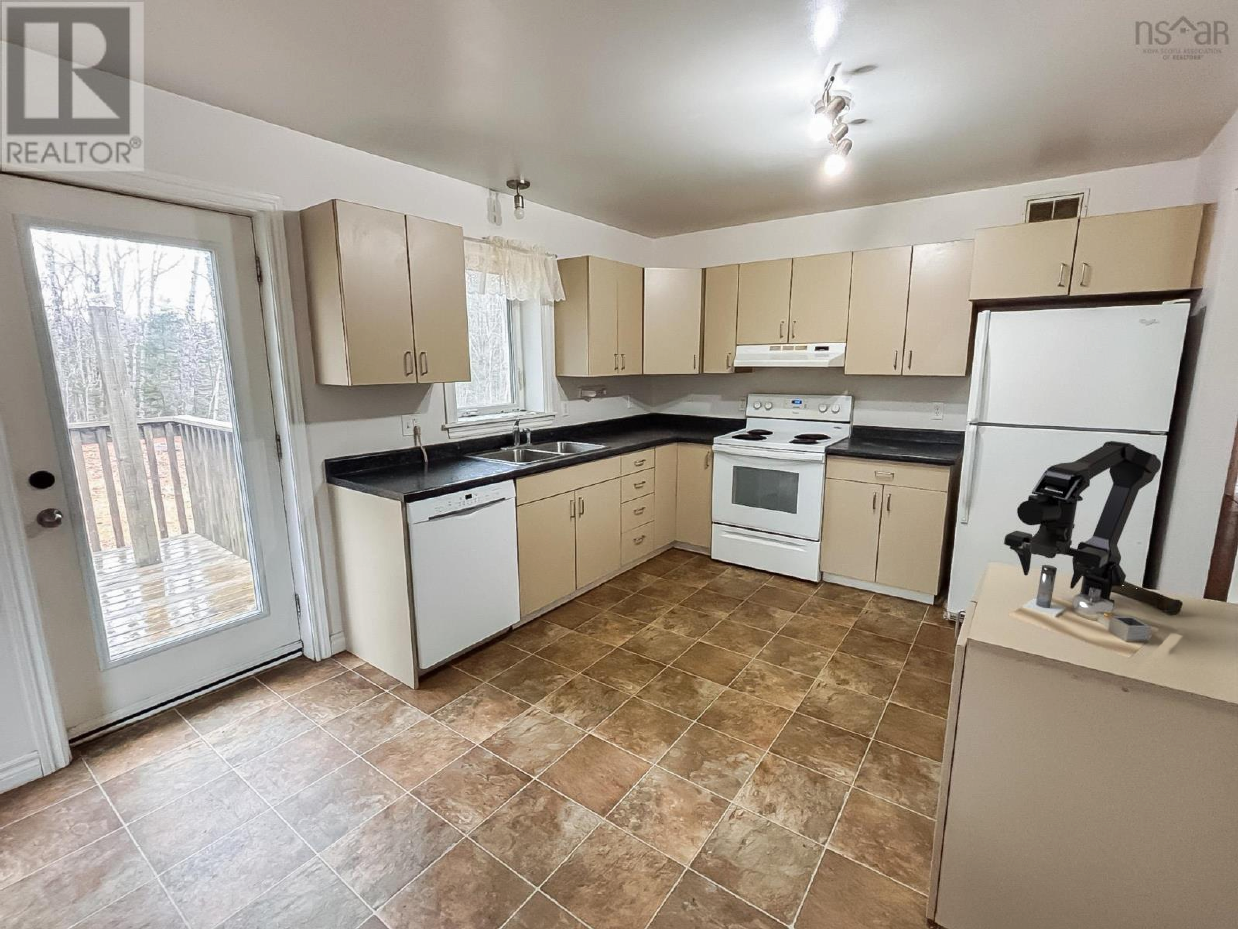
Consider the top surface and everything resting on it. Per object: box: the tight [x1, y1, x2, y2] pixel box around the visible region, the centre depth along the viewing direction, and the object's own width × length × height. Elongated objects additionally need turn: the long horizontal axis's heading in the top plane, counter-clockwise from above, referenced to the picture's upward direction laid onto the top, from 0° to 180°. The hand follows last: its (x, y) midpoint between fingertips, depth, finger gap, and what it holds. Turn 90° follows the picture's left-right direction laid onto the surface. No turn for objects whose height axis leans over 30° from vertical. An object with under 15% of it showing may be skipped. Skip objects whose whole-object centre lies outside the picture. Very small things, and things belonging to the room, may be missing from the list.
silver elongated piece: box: [1072, 587, 1152, 643], centre depth 123 cm, size 16×7×6 cm, turn 177°
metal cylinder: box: [1036, 564, 1058, 608], centre depth 131 cm, size 3×3×10 cm
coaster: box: [1023, 597, 1066, 617], centre depth 132 cm, size 6×6×1 cm
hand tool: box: [1111, 580, 1184, 616], centre depth 139 cm, size 19×4×5 cm, turn 11°
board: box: [1007, 596, 1160, 658], centre depth 125 cm, size 20×22×2 cm
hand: (1048, 581), depth 130 cm, fingers open, 9 cm apart
